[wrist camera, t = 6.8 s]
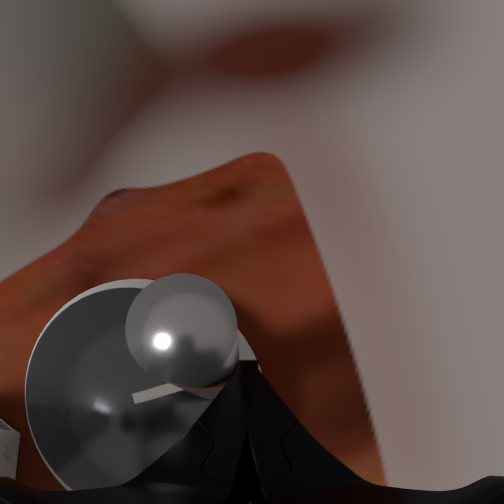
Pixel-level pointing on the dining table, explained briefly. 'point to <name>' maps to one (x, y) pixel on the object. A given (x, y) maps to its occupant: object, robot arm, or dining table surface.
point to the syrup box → (8, 450)
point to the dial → (128, 376)
